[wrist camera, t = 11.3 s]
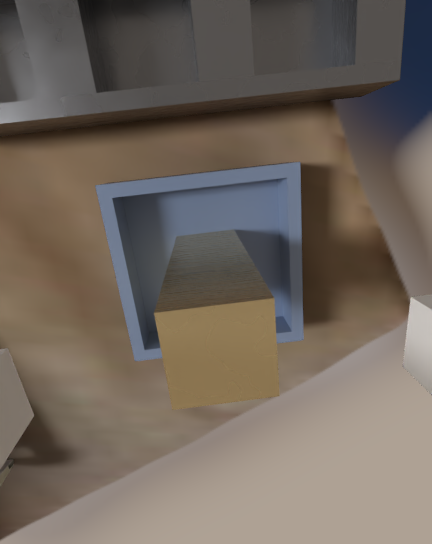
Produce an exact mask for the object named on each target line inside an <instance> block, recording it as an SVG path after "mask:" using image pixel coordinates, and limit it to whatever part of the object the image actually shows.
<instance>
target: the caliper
mask: <svg viewBox="0 0 432 544" xmlns="http://www.w3.org/2000/svg"><path fill="white" fill-rule="evenodd" d="M13 463H14V460H13V459H9V460H6V461H5V463H4V464H3V466H2V468H1V469H0V487H1V485H2V483H3V482H4V480H5V479H6V477H7V475H8V474H9V472H10V470H11V469H12V467H13Z"/></svg>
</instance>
